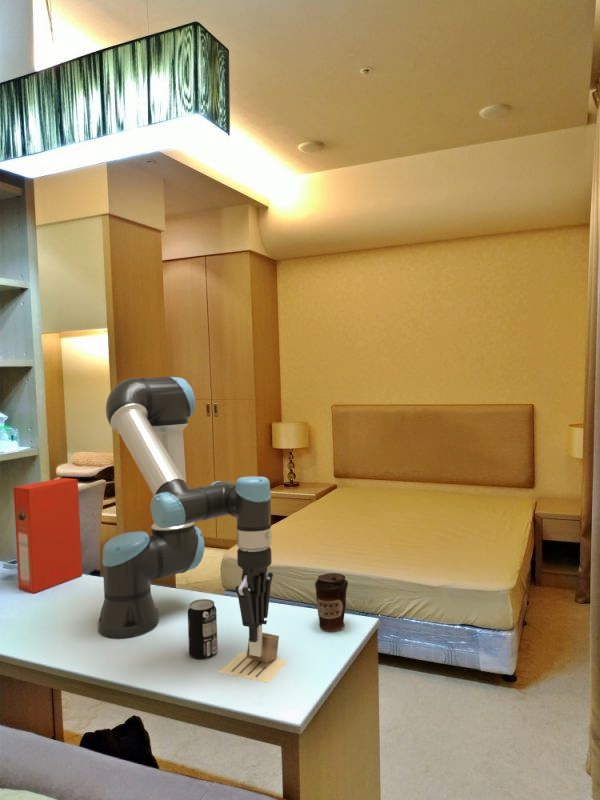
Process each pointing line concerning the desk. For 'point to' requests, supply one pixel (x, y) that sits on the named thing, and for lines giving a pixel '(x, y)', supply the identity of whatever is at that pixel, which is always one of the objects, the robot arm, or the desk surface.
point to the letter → (253, 668)
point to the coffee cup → (331, 601)
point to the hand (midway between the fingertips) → (256, 654)
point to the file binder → (47, 533)
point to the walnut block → (266, 648)
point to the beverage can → (202, 629)
